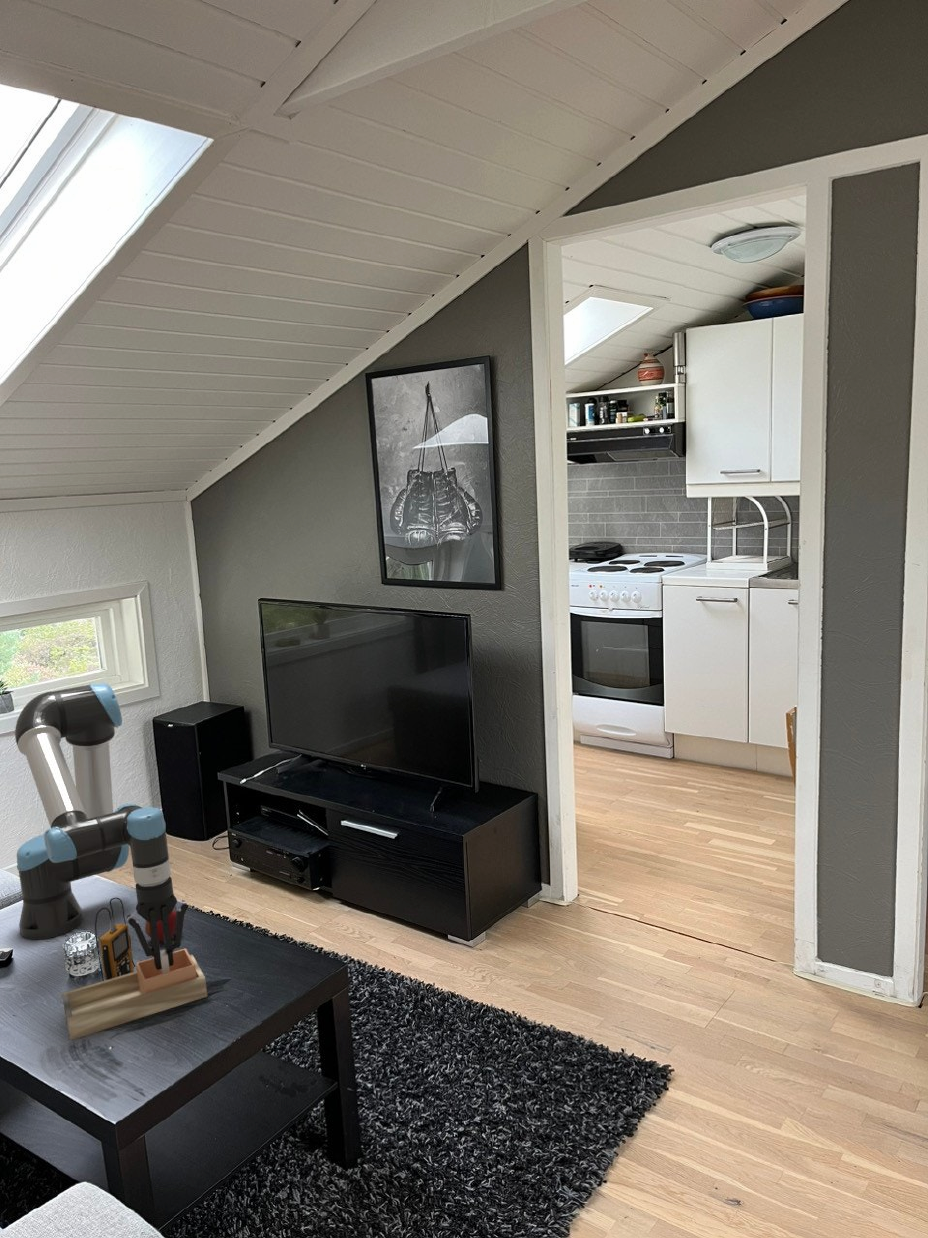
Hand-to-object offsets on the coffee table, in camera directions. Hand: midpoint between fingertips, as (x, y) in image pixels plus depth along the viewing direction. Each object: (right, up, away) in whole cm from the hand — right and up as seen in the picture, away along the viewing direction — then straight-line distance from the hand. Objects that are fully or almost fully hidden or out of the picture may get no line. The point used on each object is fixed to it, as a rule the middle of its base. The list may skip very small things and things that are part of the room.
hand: (166, 980), depth 211 cm
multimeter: (-9, -4, +6) cm, 12 cm away
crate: (0, -2, 0) cm, 2 cm away
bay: (-6, -4, -3) cm, 8 cm away
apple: (-9, 0, +26) cm, 28 cm away
